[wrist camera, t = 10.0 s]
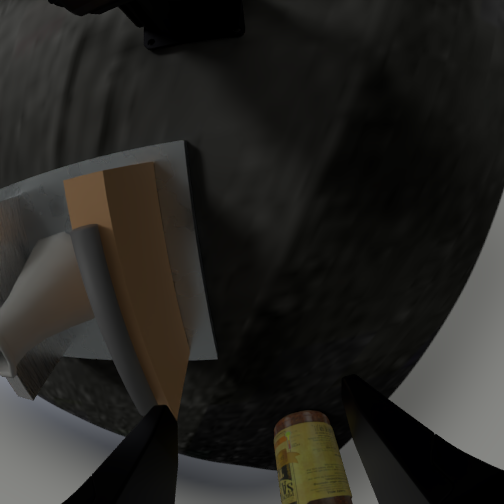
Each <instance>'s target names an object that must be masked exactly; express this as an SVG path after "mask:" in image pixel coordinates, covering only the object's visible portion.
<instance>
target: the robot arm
mask: <svg viewBox="0 0 504 504" xmlns="http://www.w3.org/2000/svg"><path fill="white" fill-rule="evenodd" d="M48 1H49V3H50V4H55V5H57V6H60V7H65V8H66V9H67V10H68V11H70V12H71V13H73V14H75V15H78V16H84V15H86V14H88V13H90V14H102V13H104V12H106V11H108V10H111V9H113V8H115V7H119V8H120V9H121V10H122V11H123V12H124V13H125V15H126V16H127V17H128V18H129V19H130V20H131V21H132V22H133V23H134V24H135V25H136V26H137V27H139V28H140V27H144V46H145V47H146V48H147V49H148V50H156V49H161V48H165V47H170V46H175V45H181V44H186V43H192V42H199V41H206V40H214V39H222V38H233V37H240V36H242V35H243V34H244V33H245V23H244V14H243V5H242V0H48ZM235 28H239V29H241V30H240V31H239V32H235V31H234V29H235ZM152 41H155V43H154V44H153V45H149V44H150V42H152ZM341 394H342V400H343V404H344V408H345V412H346V415H347V419H348V423H349V427H350V430H351V434H352V437H353V440H354V443H355V446H356V448H357V451H358V453H359V456H360V458H361V460H362V463H363V465H364V468H365V470H366V473H367V475H368V478H369V480H370V483H371V485H372V487H373V490H374V492H375V495H376V498H377V500H378V502H379V504H504V470H501V469H499V468H496V467H494V466H492V465H490V464H488V463H486V462H483V461H481V460H479V459H477V458H475V457H473V456H471V455H469V454H467V453H465V452H463V451H461V450H460V449H457V448H456V447H455V446H453V445H451V444H450V443H448V442H447V441H445V440H444V439H442V438H441V437H440V436H438V435H437V434H435V435H434V432H432V431H431V430H430V429H428V428H427V427H425V426H424V425H423V424H421V423H420V422H419V421H417V420H416V419H414V418H413V417H412V416H410V415H409V414H408V413H406V412H405V411H403V410H402V409H401V408H400V407H398V406H397V405H395V404H394V403H393V402H391V401H390V400H389V399H387V398H386V397H385V396H383V395H382V394H381V393H379V392H378V391H377V390H376V389H374V388H373V387H372V386H370V385H369V384H368V383H366V382H365V381H364V380H362V379H361V378H360V377H359V376H357V375H355V374H352V375H349V376H345V377H343V378H342V393H341ZM177 471H178V426H177V421H176V418H175V417H174V415H173V414H172V412H171V410H170V409H169V407H168V406H167V405H154V406H153V407H152V408H151V409H150V410H149V411H148V413H147V414H146V415H145V416H144V417H143V418H142V419H141V421H140V422H139V423H138V424H137V425H136V426H135V427H134V428H133V430H132V431H131V432H130V433H129V434H128V435H127V436H126V438H125V439H124V440H123V441H122V442H121V443H120V444H119V445H118V446H117V448H116V449H115V450H114V451H113V452H112V453H111V454H110V456H109V457H108V458H107V459H106V460H105V461H104V462H103V463H102V464H101V465H100V466H99V467H98V469H97V470H96V471H95V472H94V473H93V474H92V476H90V477H89V478H88V479H87V480H86V482H85V483H84V484H83V485H82V486H81V487H80V488H79V489H78V490H77V491H76V492H75V493H73V494H72V495H71V496H70V497H69V498H68V499H67V500H65V501H64V502H63V503H62V504H175V492H176V481H177Z"/></svg>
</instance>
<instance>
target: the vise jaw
mask: <svg viewBox="0 0 504 504" xmlns="http://www.w3.org/2000/svg"><path fill="white" fill-rule="evenodd" d="M63 183H64V189H65V195H66V201H67V206H68V211H69V216H70V221H71V226H72V230H71V231H70V236H71V240H72V244H73V248H74V252H75V256H76V259H77V263H78V267H79V270H80V273H81V277H82V280H83V283H84V286H85V290H86V293H87V296H88V299H89V301H90V304H91V307H92V310H93V313H94V315H95V318H96V321H97V323H98V326H99V329H100V331H101V334H102V336H103V339H104V341H105V343H106V346H107V348H108V351H109V353H110V355H111V357H112V360H113V362H114V364H115V366H116V368H117V370H118V373H119V375H120V377H121V379H122V381H123V383H124V385H125V387H126V389H127V391H128V393H129V395H130V397H131V398H132V400H133V402H134V404H135V406H136V408H137V410H138V411H139V413H140V414H141V415H143V416H145V415H146V414H147V413H148V411H149V410H150V409H151V408H152V407H153V406H154V405H167V406H168V407H169V409H170V410H171V412H172V414H173V415H174V417H175V418H176V421H177V417H178V411H179V406H180V401H181V395H182V390H183V385H184V380H185V375H186V370H187V365H188V360H189V355H190V349H189V345H188V342H187V338H186V334H185V330H184V326H183V322H182V318H181V314H180V309H179V305H178V301H177V296H176V292H175V287H174V283H173V278H172V273H171V268H170V263H169V258H168V253H167V248H166V243H165V237H164V231H163V225H162V220H161V213H160V207H159V200H158V194H157V187H156V179H155V172H154V163H153V162H147V163H140V164H134V165H129V166H123V167H118V168H113V169H108V170H103V171H98V172H94V173H90V174H86V175H82V176H78V177H74V178H71V179H67V180H63Z"/></svg>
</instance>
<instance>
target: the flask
mask: <svg viewBox="0 0 504 504" xmlns="http://www.w3.org/2000/svg"><path fill="white" fill-rule="evenodd" d="M94 318H95V315H94V313H93V310H92V307H91V304H90V301H89V299H88V296H87V293H86V290H85V286H84V283H83V280H82V277H81V273H80V270H79V267H78V263H77V259H76V256H75V252H74V248H73V244H72V240H71V236H70V235H69V234H67V233H65V232H61V233H58V234H55V235H52V236H49V237H46V238H43V239H40V240H38V242H37V243H36V245H35V247H34V248H33V250H32V252H31V254H30V256H29V258H28V260H27V262H26V264H25V266H24V268H23V270H22V271H21V273H20V275H19V277H18V279H17V281H16V283H15V285H14V287H13V289H12V291H11V293H10V295H9V297H8V298H7V300H6V301H5V302H4V304H3V305H2V307H1V308H0V375H1V376H2V377H8V378H14V377H15V376H16V374H17V368H16V366H17V364H18V363H19V361H20V360H21V359H22V358H23V357H24V355H25V354H26V353H27V352H28V351H30V350H31V349H32V348H34V347H35V346H36V345H38V344H39V343H40V342H42V341H43V340H44V339H46V338H49V337H51V336H53V335H55V334H57V333H60V332H62V331H64V330H66V329H69V328H71V327H73V326H76V325H78V324H81V323H83V322H86V321H89V320H91V319H94Z"/></svg>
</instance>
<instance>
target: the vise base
mask: <svg viewBox="0 0 504 504" xmlns="http://www.w3.org/2000/svg"><path fill="white" fill-rule="evenodd" d="M147 162H153V163H154V172H155V179H156V187H157V194H158V200H159V207H160V213H161V220H162V225H163V231H164V237H165V243H166V248H167V253H168V258H169V263H170V268H171V273H172V278H173V283H174V287H175V292H176V296H177V301H178V305H179V309H180V314H181V318H182V322H183V326H184V330H185V334H186V338H187V342H188V345H189V349H190V355H189V360H213V359H218V347H217V342H216V336H215V331H214V326H213V321H212V315H211V310H210V304H209V299H208V293H207V287H206V281H205V275H204V269H203V263H202V256H201V250H200V243H199V236H198V230H197V222H196V215H195V208H194V200H193V192H192V184H191V176H190V167H189V158H188V149H187V141H186V140H181V141H175V142H169V143H163V144H157V145H152V146H147V147H142V148H137V149H132V150H127V151H123V152H118V153H114V154H110V155H106V156H102V157H98V158H94V159H90V160H86V161H83V162H79V163H75V164H72V165H68V166H65V167H62V168H59V169H55V170H52V171H49V172H46V173H43V174H40V175H37V176H34V177H31V178H28V179H26V180H23V181H20V182H18V183H15V184H12V185H10V186H7V187H5V188H2V189H0V308H1V307H2V305H3V304H4V302H5V301H6V300H7V298H8V297H9V295H10V293H11V291H12V289H13V287H14V285H15V283H16V281H17V279H18V277H19V275H20V273H21V271H22V270H23V268H24V266H25V264H26V262H27V260H28V258H29V256H30V254H31V252H32V250H33V248H34V247H35V245H36V243H37V242H38V240H40V239H43V238H46V237H49V236H52V235H55V234H58V233H61V232H65V233H67V234H69V235H70V231H71V230H72V226H71V221H70V216H69V211H68V206H67V201H66V195H65V189H64V183H63V180H67V179H71V178H74V177H78V176H82V175H86V174H90V173H94V172H98V171H103V170H108V169H113V168H118V167H123V166H129V165H134V164H140V163H147ZM62 356H65V357H76V358H88V359H104V360H112V357H111V355H110V353H109V351H108V348H107V346H106V343H105V341H104V339H103V336H102V334H101V331H100V329H99V326H98V323H97V321H96V318H94V319H91V320H89V321H86V322H83V323H81V324H78V325H76V326H73V327H71V328H69V329H66V330H64V331H62V332H60V333H57V334H55V335H53V336H51V337H49V338H46V339H44V340H43V341H42V342H40V343H39V344H38V345H36V346H35V347H34V348H32V349H31V350H30V351H28V352H27V353H26V354H25V355H24V357H23V358H22V359H21V360H20V361H19V363H18V364H17V366H16V368H17V374H16V376H15V377H14V378H8V377H6V378H7V380H8V382H9V383H10V385H11V386H12V388H13V389H14V391H15V392H16V394H17V395H18V396H20V397H23V398H27V399H30V400H34V399H35V397H36V396H37V394H38V392H39V391H40V389H41V388H42V386H43V384H44V383H45V381H46V380H47V378H48V377H49V375H50V374H51V372H52V371H53V369H54V368H55V366H56V365H57V363H58V362H59V360H60V359H61V357H62Z"/></svg>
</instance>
